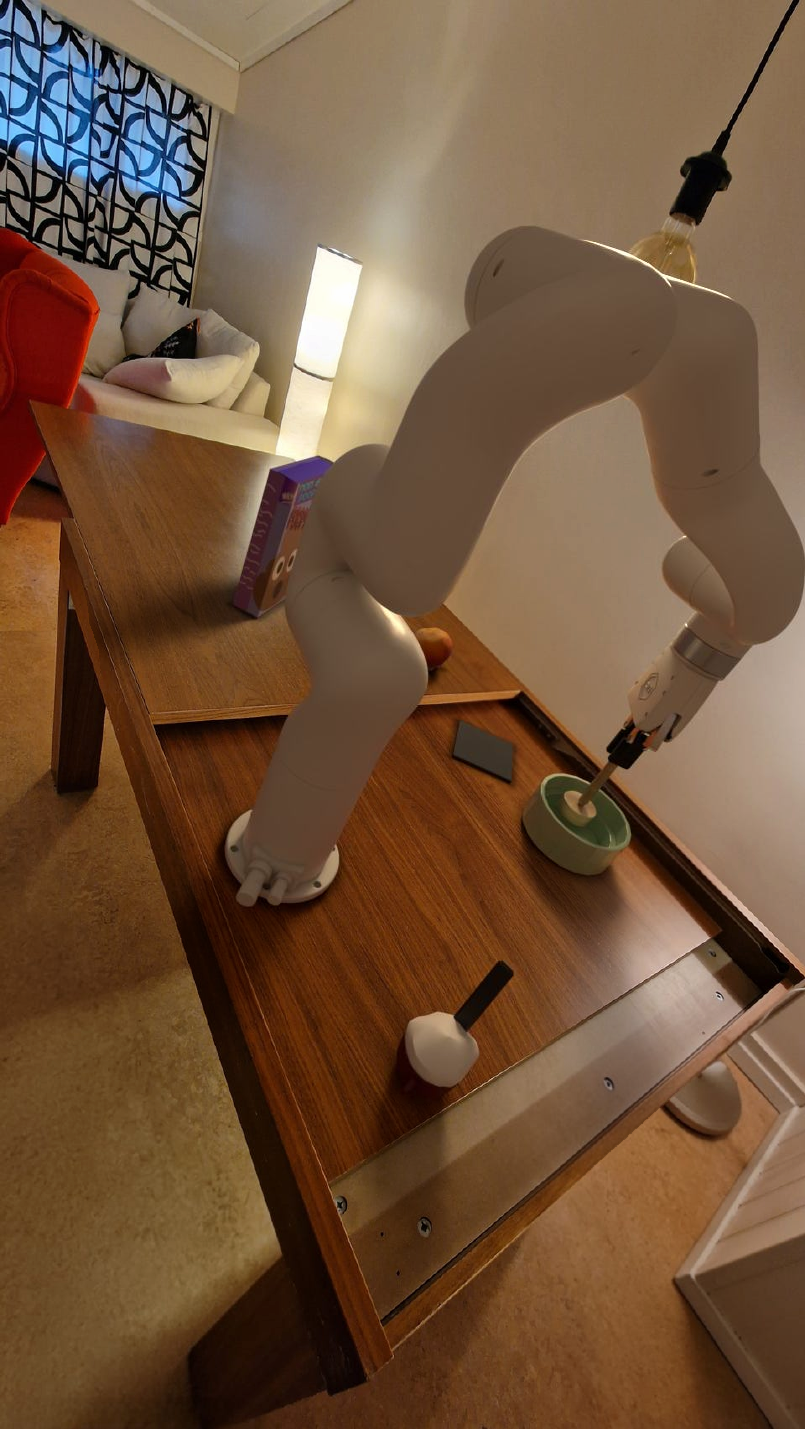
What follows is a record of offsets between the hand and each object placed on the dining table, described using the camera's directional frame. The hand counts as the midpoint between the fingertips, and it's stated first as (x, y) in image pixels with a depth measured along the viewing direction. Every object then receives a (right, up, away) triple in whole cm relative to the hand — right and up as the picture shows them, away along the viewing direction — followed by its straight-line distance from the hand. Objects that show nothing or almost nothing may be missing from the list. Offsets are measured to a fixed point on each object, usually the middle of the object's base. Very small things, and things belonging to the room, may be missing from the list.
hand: (616, 759), depth 85 cm
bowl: (-6, -12, +6) cm, 15 cm away
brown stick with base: (-4, -8, +6) cm, 11 cm away
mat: (-16, 0, +15) cm, 22 cm away
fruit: (-26, +16, +30) cm, 43 cm away
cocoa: (-27, -26, -28) cm, 47 cm away
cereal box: (-53, +27, +27) cm, 65 cm away
